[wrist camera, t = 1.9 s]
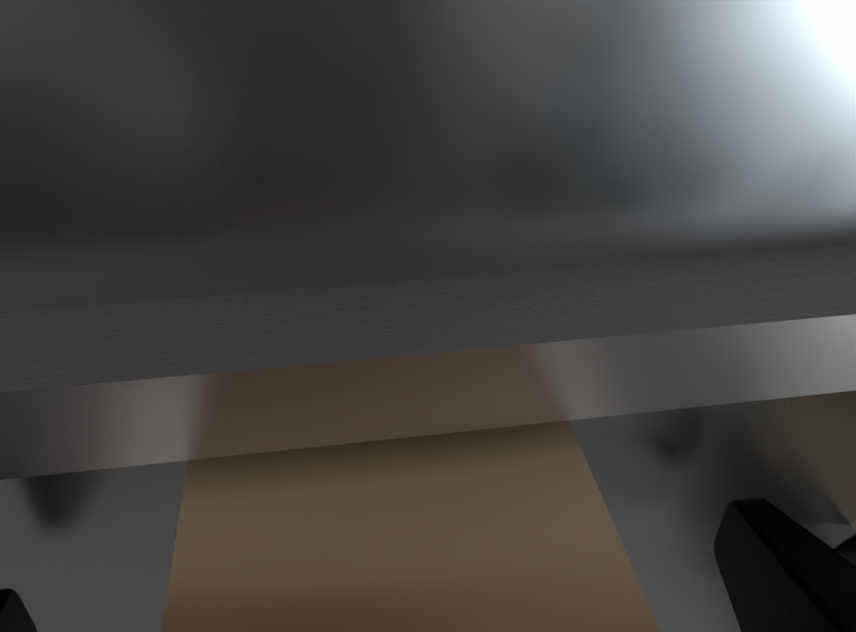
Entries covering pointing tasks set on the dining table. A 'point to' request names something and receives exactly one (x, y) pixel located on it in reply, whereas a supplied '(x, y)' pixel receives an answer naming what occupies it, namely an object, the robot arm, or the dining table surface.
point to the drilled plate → (422, 263)
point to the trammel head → (403, 539)
